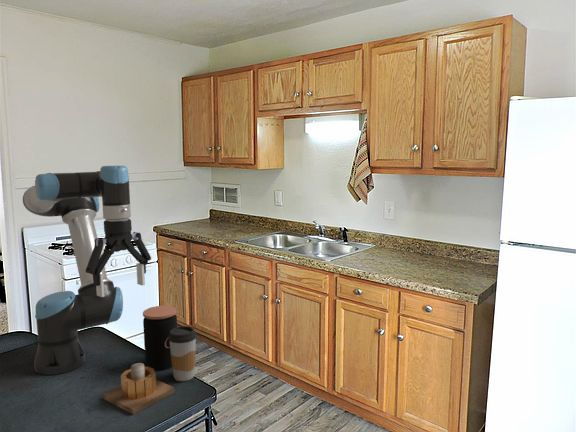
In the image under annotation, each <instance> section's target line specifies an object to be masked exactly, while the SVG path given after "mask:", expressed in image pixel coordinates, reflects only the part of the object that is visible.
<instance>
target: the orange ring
mask: <svg viewBox="0 0 576 432" xmlns="http://www.w3.org/2000/svg"><path fill="white" fill-rule="evenodd" d="M144 370H145V378H143V379H138V380H132V377H131V368H130V369H127V370H124V371H123V372H122V373H121V375H120V385H121V388H122V396H123V397H125V398H127V399H140V398H145V397H147V396H149V395H151V394H152V393H154V391H155V390H156V380H157V378H156V370H154V369H153V368H150V367H148V366H144Z"/></svg>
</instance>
